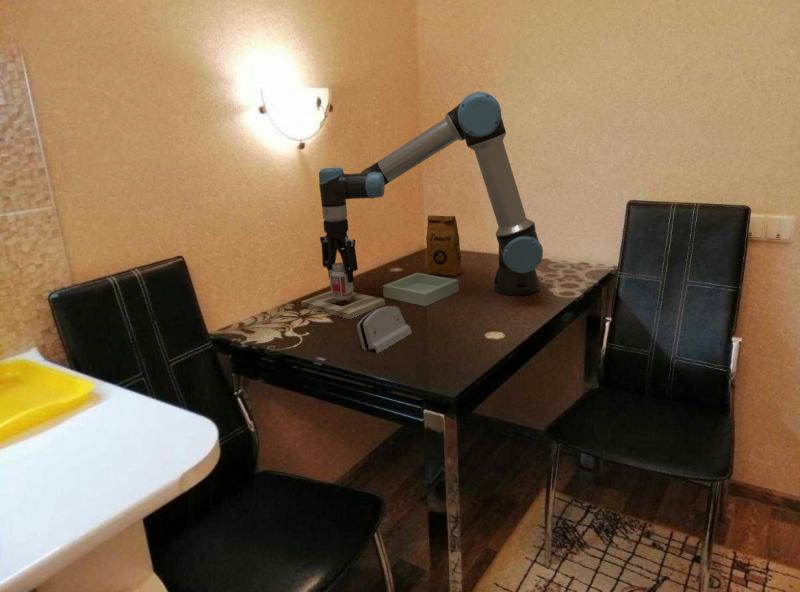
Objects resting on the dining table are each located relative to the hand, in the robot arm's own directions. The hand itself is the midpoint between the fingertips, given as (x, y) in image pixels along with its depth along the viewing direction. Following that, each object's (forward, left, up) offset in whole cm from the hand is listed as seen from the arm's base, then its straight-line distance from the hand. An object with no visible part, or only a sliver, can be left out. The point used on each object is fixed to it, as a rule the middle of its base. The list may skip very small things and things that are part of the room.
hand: (342, 290), depth 189 cm
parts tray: (-14, -23, -5) cm, 27 cm away
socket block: (0, 0, -5) cm, 5 cm away
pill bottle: (0, 0, -3) cm, 3 cm away
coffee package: (-6, -47, -6) cm, 48 cm away
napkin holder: (-31, +14, -6) cm, 34 cm away
